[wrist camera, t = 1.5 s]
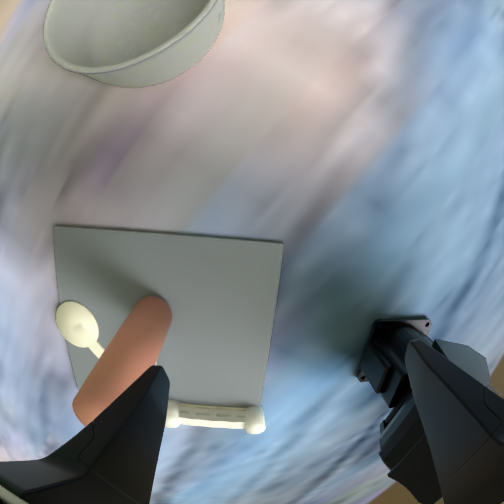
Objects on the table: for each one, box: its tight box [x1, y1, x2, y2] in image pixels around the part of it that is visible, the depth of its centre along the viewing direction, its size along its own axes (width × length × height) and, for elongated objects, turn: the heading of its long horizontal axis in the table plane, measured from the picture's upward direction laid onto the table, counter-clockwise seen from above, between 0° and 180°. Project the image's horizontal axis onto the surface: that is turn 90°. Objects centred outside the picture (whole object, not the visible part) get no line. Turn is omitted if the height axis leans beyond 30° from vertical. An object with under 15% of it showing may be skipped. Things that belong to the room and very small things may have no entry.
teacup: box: [43, 0, 225, 88], centre depth 13 cm, size 14×11×8 cm
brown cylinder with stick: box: [72, 296, 172, 426], centre depth 17 cm, size 12×3×11 cm, turn 169°
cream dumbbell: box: [165, 400, 266, 434], centre depth 24 cm, size 9×2×2 cm, turn 84°
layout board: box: [53, 226, 284, 411], centre depth 22 cm, size 19×17×1 cm
